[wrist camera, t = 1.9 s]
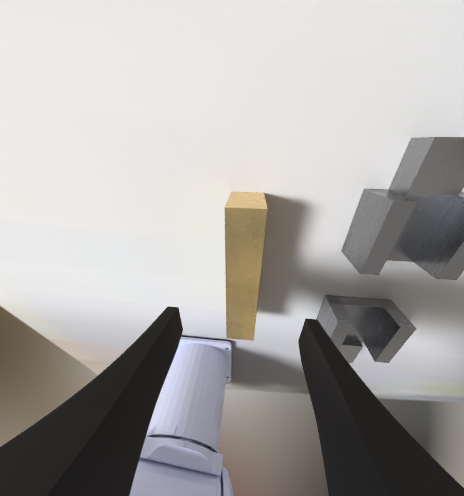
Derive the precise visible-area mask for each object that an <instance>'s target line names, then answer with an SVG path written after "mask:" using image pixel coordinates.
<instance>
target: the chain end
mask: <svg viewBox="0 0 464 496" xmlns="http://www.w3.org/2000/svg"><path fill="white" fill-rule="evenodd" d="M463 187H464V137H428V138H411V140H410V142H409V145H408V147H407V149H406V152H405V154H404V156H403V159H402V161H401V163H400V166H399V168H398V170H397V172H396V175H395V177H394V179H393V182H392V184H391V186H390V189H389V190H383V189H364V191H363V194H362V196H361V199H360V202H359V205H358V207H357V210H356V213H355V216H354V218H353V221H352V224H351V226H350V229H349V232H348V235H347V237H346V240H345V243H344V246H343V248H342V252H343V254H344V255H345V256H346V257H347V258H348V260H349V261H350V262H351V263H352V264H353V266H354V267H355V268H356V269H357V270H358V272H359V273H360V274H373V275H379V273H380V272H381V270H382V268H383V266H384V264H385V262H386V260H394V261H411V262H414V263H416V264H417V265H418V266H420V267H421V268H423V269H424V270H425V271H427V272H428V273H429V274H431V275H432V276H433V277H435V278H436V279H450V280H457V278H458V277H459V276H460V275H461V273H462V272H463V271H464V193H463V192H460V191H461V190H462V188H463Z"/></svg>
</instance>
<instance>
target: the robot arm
mask: <svg viewBox="0 0 464 496" xmlns="http://www.w3.org/2000/svg"><path fill="white" fill-rule="evenodd" d="M182 331H183V328H182V323H181V318H180V313H179V309H178V307H167V308H166V309H165V310H164V311H163V312H162V314H161V315H160V316H159V317H158V318H157V319H156V320H155V321H154V322H153V323H152V325H151V326H150V327H149V328H148V329H147V330H146V331H145V332H144V333H143V334H142V335H141V336H140V337H139V338H138V339H137V340H136V341H135V342H134V343H133V344H132V345H131V346H130V347H129V348H128V349H127V350H126V351H125V352H124V353H123V354H122V355H121V356H120V357H119V358H117V359H116V360H115V361H114V362H113V363H112V364H111V365H110V366H109V367H107V368H106V369H105V370H104V371H103V372H102V373H100V374H99V375H98V376H97V377H96V378H95V379H93V380H92V381H91V382H90V383H88V384H87V385H86V386H85V387H83V388H82V389H81V390H80V391H78V392H77V393H76V394H75V395H73V396H72V397H71V398H69V399H68V400H67V401H65V402H64V403H63V404H61V405H60V406H59V407H57V408H56V409H55V410H53V411H52V412H50V413H49V414H48V415H46V416H45V417H44V418H42V419H41V420H40V421H38V422H37V423H35V424H34V425H32V426H31V427H29V428H28V429H27V430H25V431H24V432H22V433H21V434H19V435H18V436H16V437H15V438H13V439H12V440H10V441H9V442H7V443H6V444H4V445H3V446H1V447H0V496H233V490H232V485H231V481H230V479H229V476H228V472H227V470H226V468H225V467H222V460H223V455H222V454H218V447H219V438H220V429H221V420H222V411H223V403H224V394H225V385H226V382H231V348H232V344H231V343H230V342H229V341H220V340H210V339H200V338H190V337H181V335H182ZM298 342H299V349H300V356H301V362H302V366H303V370H304V374H305V378H306V382H307V386H308V389H309V393H310V397H311V401H312V404H313V409H314V413H315V417H316V422H317V426H318V432H319V438H320V443H321V449H322V455H323V460H324V467H325V473H326V479H327V485H328V492H329V496H464V488H463V487H462V486H461V485H460V484H459V483H458V482H456V481H455V479H454V478H452V477H451V476H450V475H449V474H448V473H447V472H446V471H445V470H444V469H443V468H442V467H441V466H440V465H439V464H438V463H437V462H436V461H435V460H434V459H433V458H432V457H431V456H430V454H429V453H428V452H426V450H425V449H423V447H421V445H420V444H419V443H418V442H417V441H416V440H415V439H414V438H413V437H412V436H411V435H410V434H409V433H408V432H407V431H406V430H405V429H404V428H403V427H402V426H401V425H400V423H399V422H398V421H397V420H396V419H395V418H394V417H393V416H392V415H391V414H390V412H389V411H388V410H387V409H386V408H385V407H384V406H383V405H382V403H381V402H380V401H379V400H378V399H377V398H376V397H375V395H374V394H373V393H372V392H371V391H370V389H369V388H368V387H367V386H366V385H365V383H364V382H363V381H362V380H361V378H360V377H359V376H358V375H357V373H356V372H355V371H354V370H353V368H352V367H351V366H350V364H349V363H348V362H347V360H346V359H345V358H344V356H343V355H342V354H341V352H340V351H339V350H338V348H337V347H336V346H335V344H334V343H333V341H332V340H331V339H330V337H329V336H328V334H327V333H326V331H325V330H324V328H323V327H322V325H321V324H320V322H319V321H318V320H315V319H305V322H304V325H303V329H302V332H301V335H300V338H299V341H298ZM164 381H165V382H164ZM163 384H164V385H163ZM162 386H163V387H162ZM161 389H162V390H161ZM160 391H161V393H160ZM159 394H160V395H159ZM158 397H159V398H158ZM157 400H158V401H157ZM156 402H157V403H156ZM155 405H156V406H155Z"/></svg>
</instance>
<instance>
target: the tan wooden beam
mask: <svg viewBox="0 0 464 496" xmlns="http://www.w3.org/2000/svg"><path fill="white" fill-rule="evenodd" d="M267 212H268V208H267V204H266V200H265V195H264V193H249V192H231V194H230V196H229V199H228V201H227V203H226V206H225V257H226V326H227V338H232V339H242V340H253V341H254V331H255V322H256V313H257V304H258V295H259V285H260V276H261V267H262V258H263V248H264V239H265V230H266V221H267Z"/></svg>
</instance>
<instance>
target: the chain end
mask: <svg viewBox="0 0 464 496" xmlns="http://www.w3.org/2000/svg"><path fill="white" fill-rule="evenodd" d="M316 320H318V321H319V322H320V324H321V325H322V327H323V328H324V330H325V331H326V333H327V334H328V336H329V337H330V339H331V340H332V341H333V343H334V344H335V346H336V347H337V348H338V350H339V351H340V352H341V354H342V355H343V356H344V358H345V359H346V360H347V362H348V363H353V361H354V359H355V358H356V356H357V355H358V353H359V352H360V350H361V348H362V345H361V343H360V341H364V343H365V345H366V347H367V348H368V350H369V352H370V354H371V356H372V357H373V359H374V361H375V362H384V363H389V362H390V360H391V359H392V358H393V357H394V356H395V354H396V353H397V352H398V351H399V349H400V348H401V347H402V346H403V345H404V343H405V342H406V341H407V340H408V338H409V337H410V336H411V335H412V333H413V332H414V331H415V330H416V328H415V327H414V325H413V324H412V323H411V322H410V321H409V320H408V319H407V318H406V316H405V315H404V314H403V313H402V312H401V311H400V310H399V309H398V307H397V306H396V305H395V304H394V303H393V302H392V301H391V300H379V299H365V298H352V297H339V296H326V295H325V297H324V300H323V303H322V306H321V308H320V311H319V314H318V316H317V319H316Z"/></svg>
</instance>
